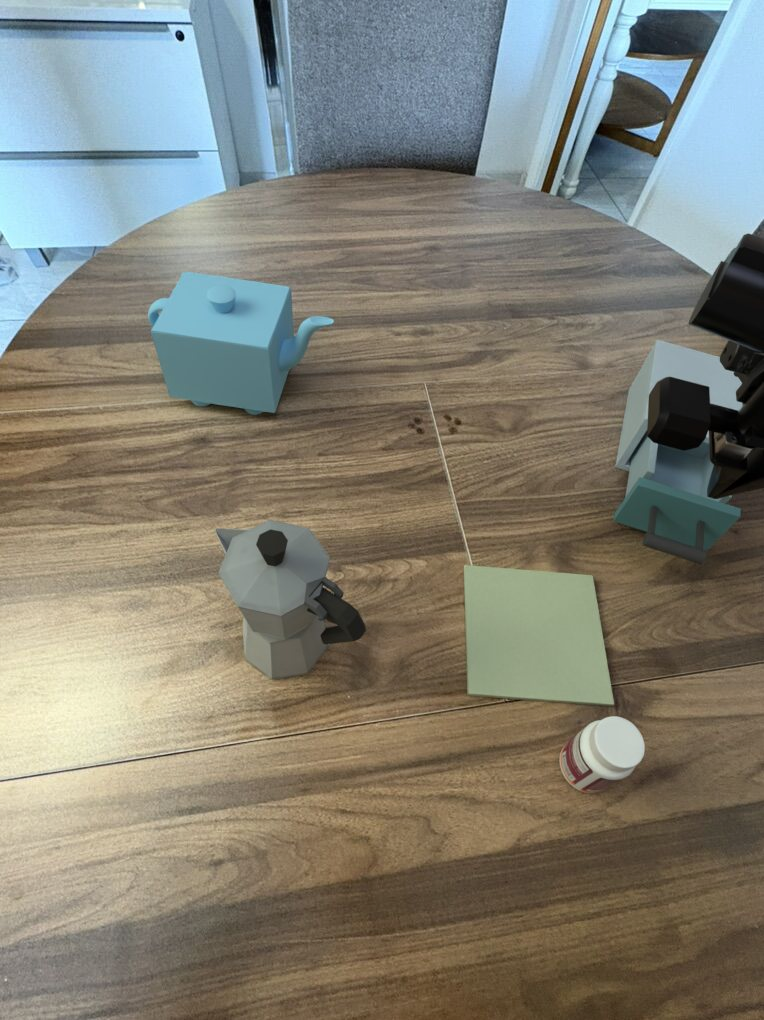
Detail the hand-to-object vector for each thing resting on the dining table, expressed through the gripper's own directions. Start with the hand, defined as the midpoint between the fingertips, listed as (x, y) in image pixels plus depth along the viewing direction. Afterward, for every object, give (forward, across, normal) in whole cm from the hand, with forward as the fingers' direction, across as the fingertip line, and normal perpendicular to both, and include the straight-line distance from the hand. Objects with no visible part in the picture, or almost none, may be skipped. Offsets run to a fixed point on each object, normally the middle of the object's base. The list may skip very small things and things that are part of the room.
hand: (710, 494), depth 58 cm
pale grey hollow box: (+13, -2, -20) cm, 23 cm away
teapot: (+14, +52, -10) cm, 55 cm away
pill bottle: (+13, +5, +24) cm, 28 cm away
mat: (+13, +12, +13) cm, 21 cm away
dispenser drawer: (+12, -1, -7) cm, 14 cm away
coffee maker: (+14, +34, +21) cm, 42 cm away
